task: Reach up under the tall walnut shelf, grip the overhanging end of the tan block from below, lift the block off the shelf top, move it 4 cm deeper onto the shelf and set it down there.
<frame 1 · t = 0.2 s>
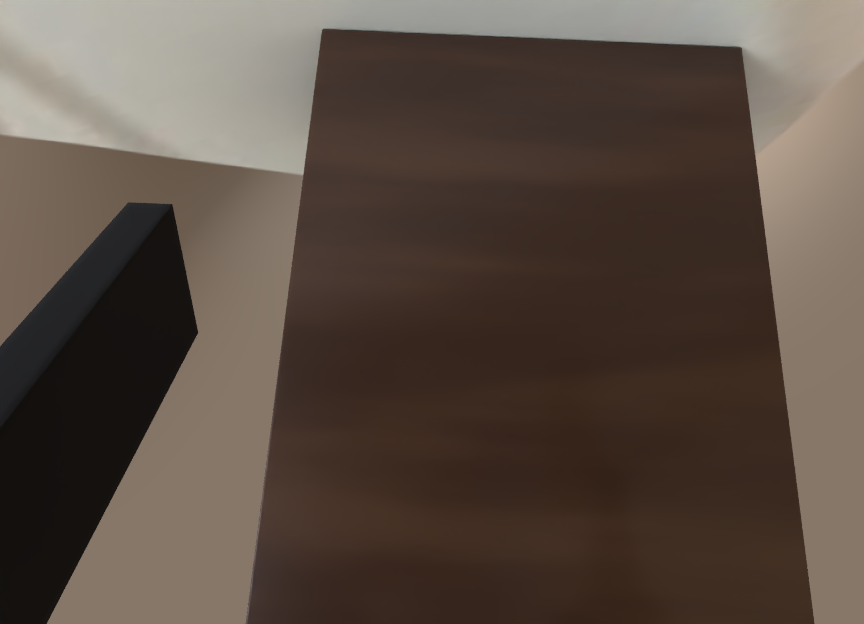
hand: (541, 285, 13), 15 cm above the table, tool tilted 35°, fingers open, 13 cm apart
shelf: (508, 99, 32), on the table
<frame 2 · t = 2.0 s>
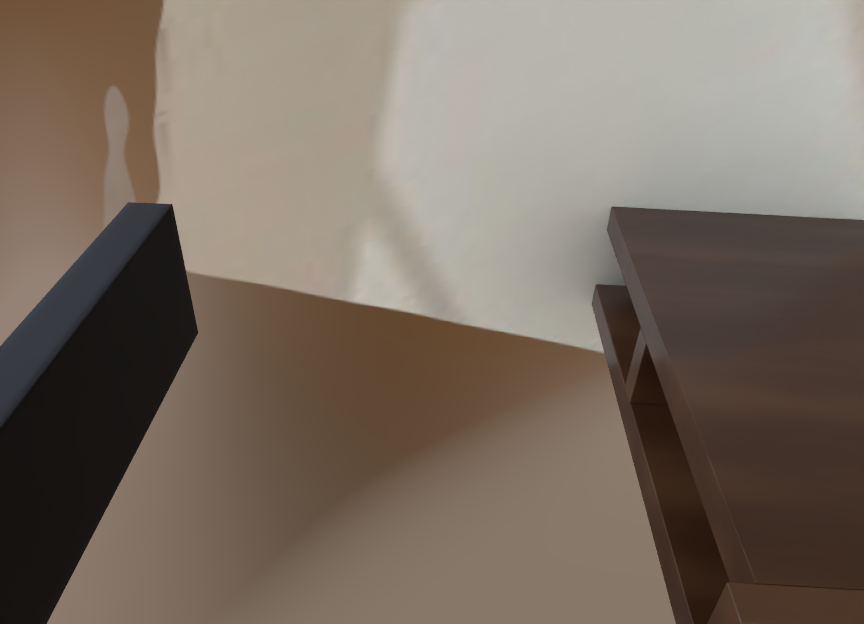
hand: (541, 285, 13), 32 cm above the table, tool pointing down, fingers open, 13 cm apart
shelf: (714, 263, 49), on the table
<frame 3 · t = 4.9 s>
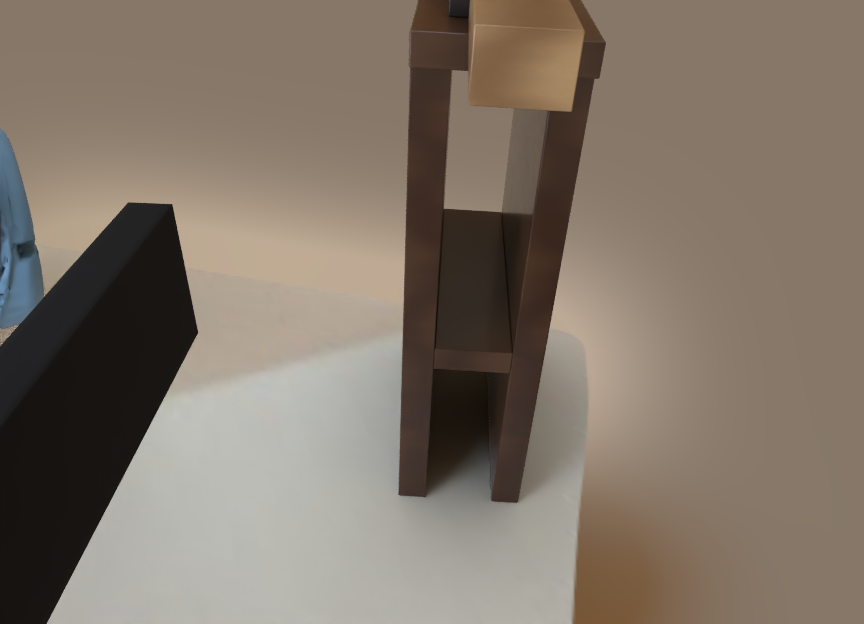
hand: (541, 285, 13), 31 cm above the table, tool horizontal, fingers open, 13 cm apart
shelf: (459, 415, 53), on the table
tan block: (506, 26, 30), point 30 cm above the table, touching shelf
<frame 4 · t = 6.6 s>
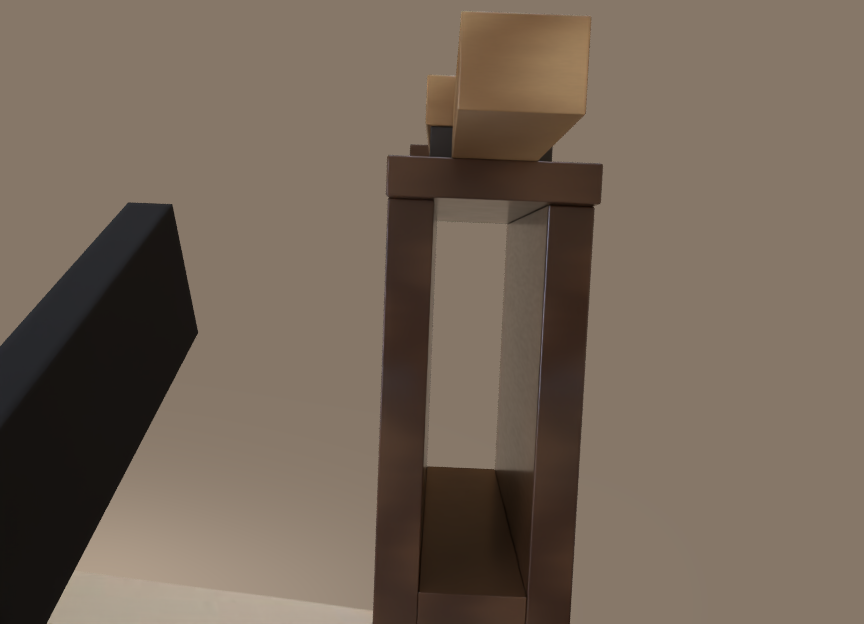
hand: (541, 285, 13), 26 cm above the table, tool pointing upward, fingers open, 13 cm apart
tan block: (492, 164, 27), point 30 cm above the table, touching shelf
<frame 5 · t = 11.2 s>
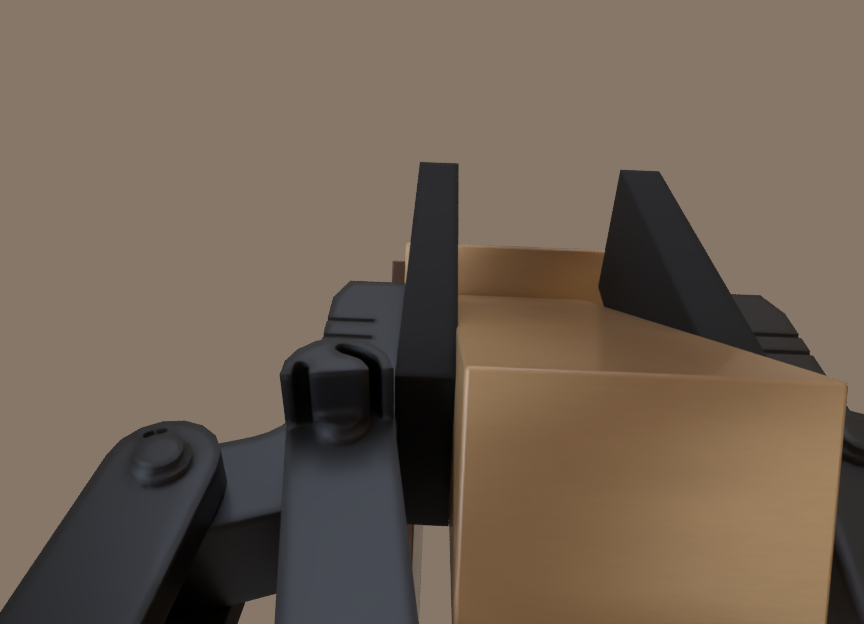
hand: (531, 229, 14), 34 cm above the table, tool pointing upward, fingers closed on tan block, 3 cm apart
tan block: (515, 404, 16), point 30 cm above the table, touching gripper, shelf
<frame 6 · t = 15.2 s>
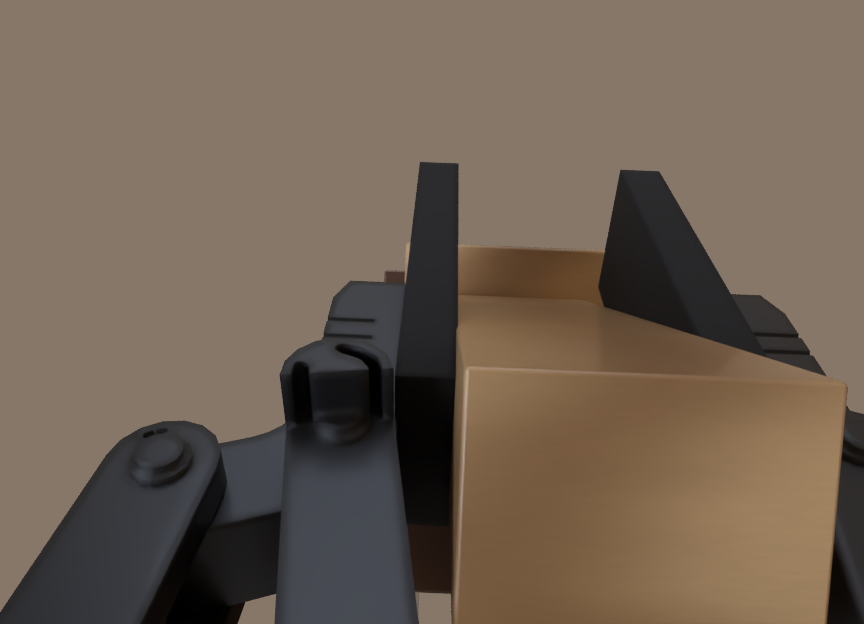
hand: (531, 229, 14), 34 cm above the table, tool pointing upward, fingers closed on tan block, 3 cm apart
tan block: (515, 404, 16), point 30 cm above the table, touching gripper
when the fingers open (35 cm above the table, at t = 17.1 s): tan block stays where it is, resting on shelf.
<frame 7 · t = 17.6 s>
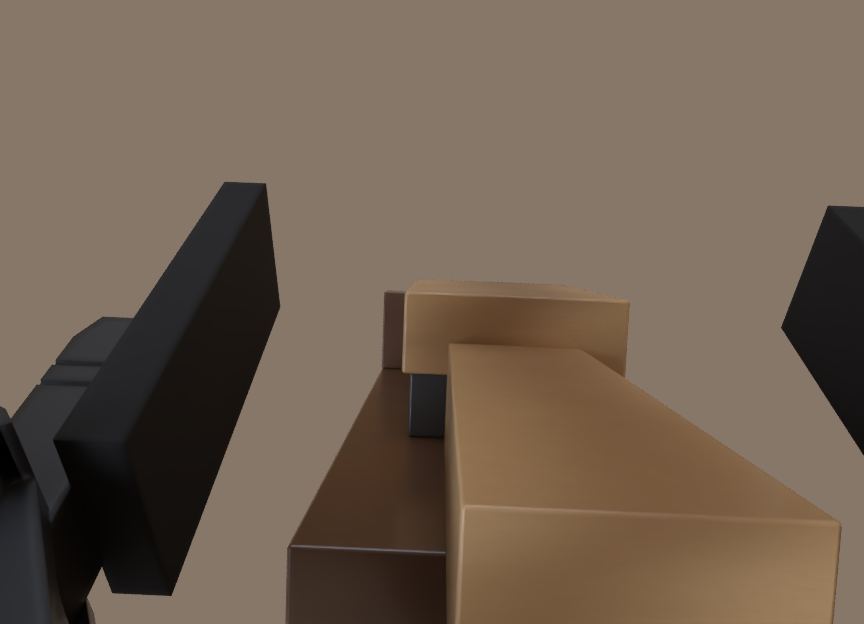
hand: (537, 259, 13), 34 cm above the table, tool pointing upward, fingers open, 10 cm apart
tan block: (514, 455, 16), point 30 cm above the table, touching shelf
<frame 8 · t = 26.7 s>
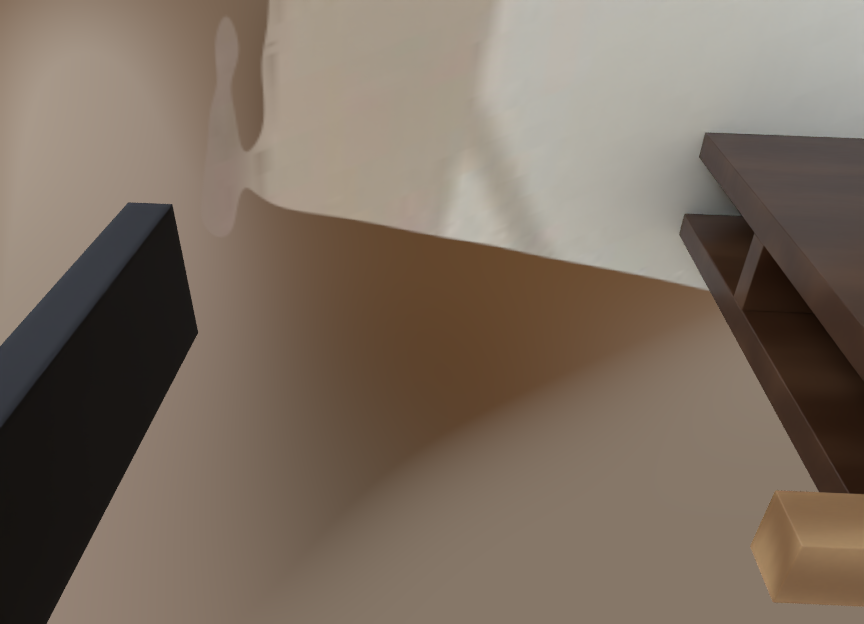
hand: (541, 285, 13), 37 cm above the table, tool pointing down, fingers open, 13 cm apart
shelf: (802, 190, 50), on the table
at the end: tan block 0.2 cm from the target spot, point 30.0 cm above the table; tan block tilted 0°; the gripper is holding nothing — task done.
